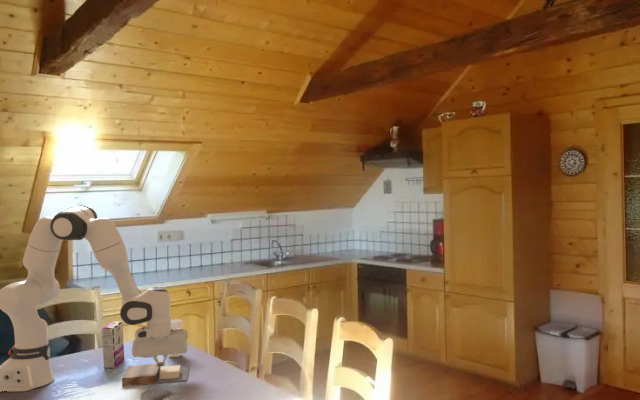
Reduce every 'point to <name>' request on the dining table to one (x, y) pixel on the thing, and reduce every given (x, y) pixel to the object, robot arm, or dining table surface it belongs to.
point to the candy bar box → (113, 344)
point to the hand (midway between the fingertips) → (160, 366)
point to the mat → (182, 377)
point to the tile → (170, 372)
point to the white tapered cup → (176, 325)
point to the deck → (141, 375)
